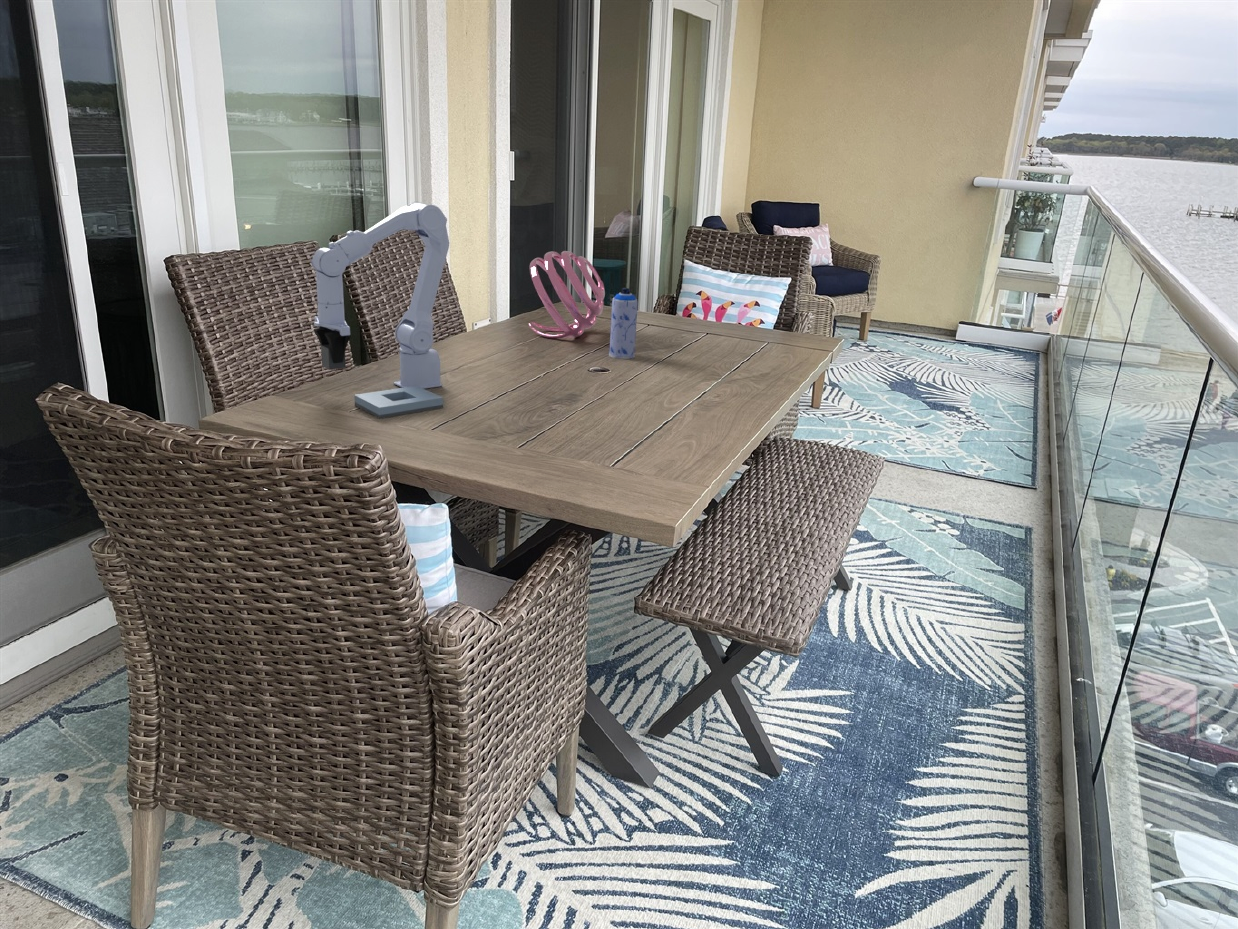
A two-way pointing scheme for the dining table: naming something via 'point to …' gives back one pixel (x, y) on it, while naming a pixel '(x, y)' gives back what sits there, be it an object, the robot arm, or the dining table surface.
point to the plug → (330, 359)
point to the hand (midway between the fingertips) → (333, 360)
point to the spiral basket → (568, 294)
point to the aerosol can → (623, 325)
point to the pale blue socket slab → (398, 401)
